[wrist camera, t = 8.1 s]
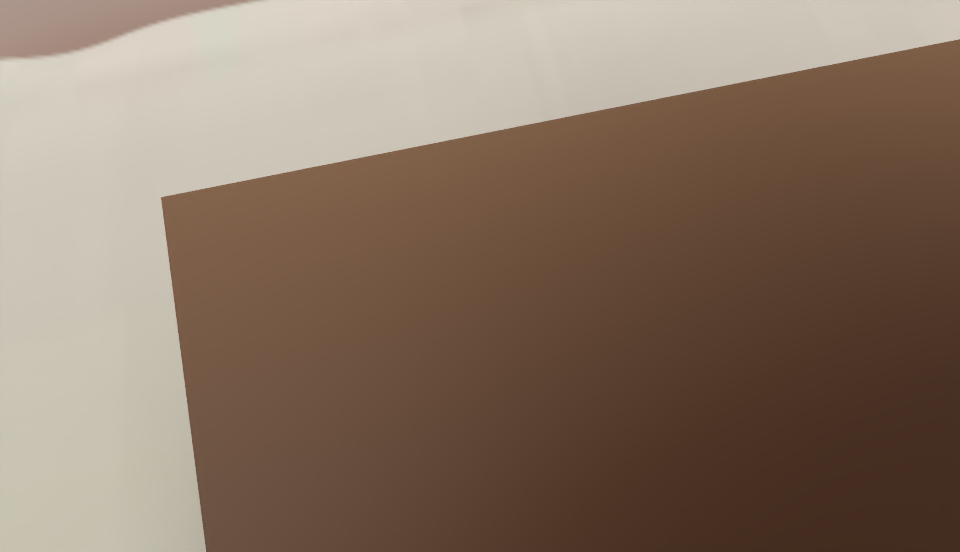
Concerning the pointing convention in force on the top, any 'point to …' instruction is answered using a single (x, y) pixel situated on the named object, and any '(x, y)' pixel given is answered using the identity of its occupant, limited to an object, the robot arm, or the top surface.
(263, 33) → the top surface
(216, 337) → the walnut block
